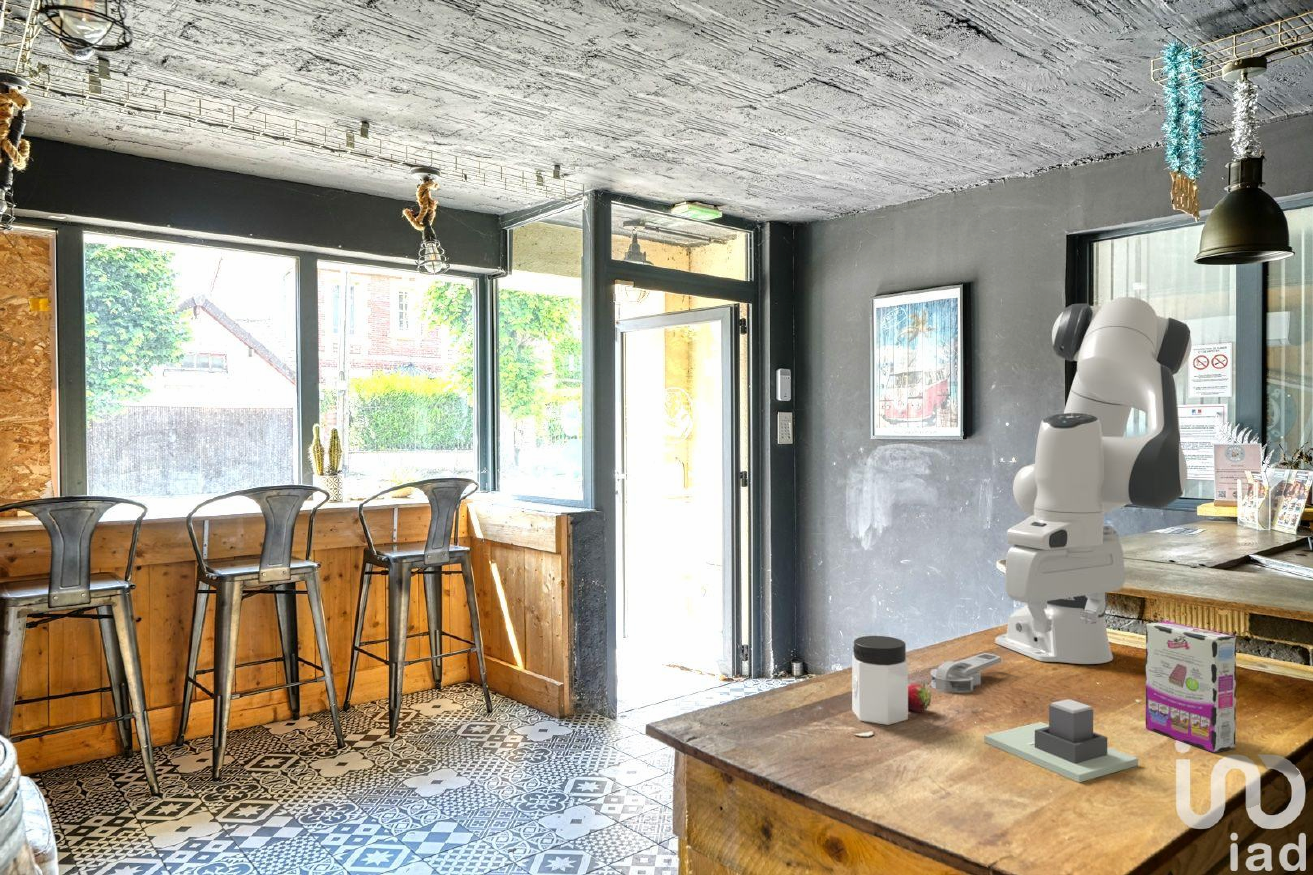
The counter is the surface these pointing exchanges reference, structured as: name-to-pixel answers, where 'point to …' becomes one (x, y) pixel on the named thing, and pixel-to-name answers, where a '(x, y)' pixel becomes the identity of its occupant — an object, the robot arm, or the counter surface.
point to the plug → (1071, 721)
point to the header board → (1062, 752)
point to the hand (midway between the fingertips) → (1066, 627)
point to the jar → (880, 680)
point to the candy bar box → (1191, 685)
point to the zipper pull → (962, 673)
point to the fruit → (918, 697)
